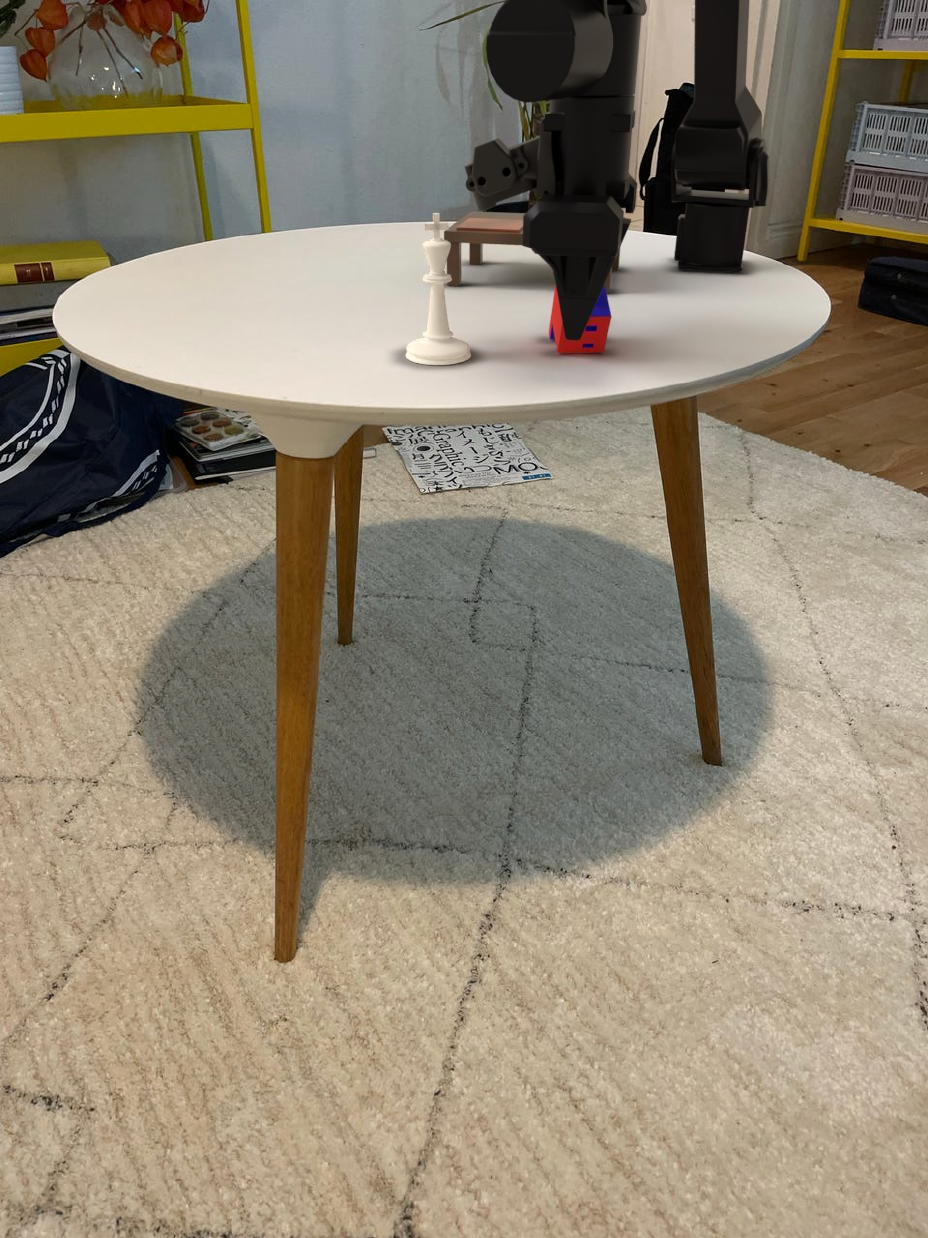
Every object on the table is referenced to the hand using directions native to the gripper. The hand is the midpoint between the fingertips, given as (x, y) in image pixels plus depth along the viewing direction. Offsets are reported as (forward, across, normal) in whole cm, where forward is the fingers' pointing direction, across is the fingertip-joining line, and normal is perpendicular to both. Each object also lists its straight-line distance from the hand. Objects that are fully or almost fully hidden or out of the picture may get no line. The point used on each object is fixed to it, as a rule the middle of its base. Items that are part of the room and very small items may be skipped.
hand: (577, 328), depth 73 cm
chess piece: (+2, +4, -10) cm, 11 cm away
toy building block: (+2, 0, 0) cm, 2 cm away
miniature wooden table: (+2, -25, -7) cm, 26 cm away
